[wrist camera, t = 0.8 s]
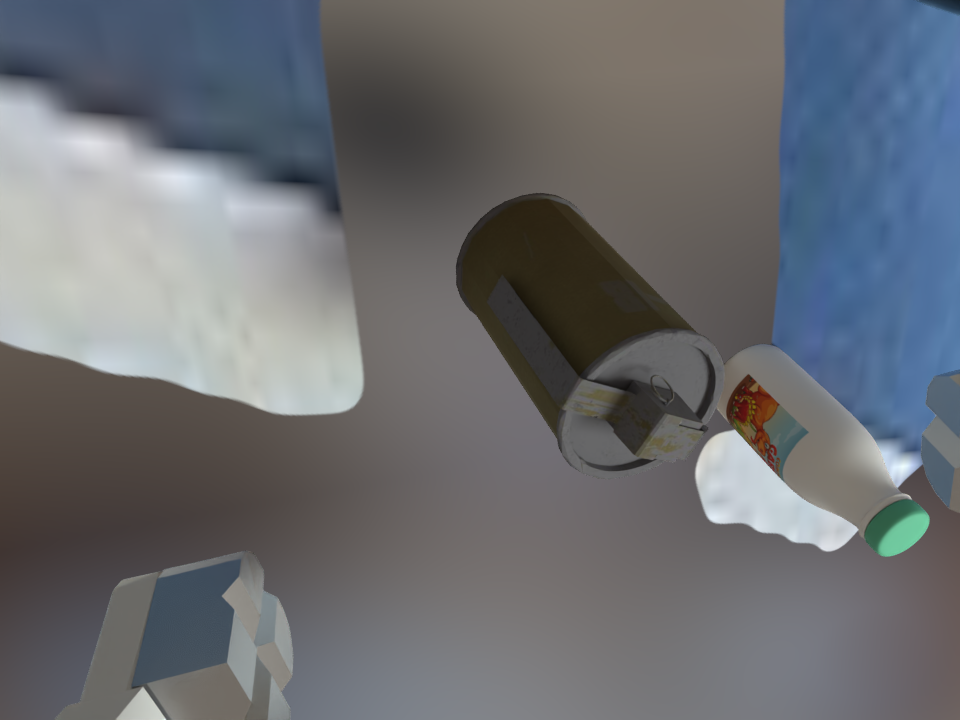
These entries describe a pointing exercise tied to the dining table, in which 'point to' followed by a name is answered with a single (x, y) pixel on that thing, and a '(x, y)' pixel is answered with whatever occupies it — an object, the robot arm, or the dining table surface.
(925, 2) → the wine bottle
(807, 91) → the dining table surface
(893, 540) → the milk bottle
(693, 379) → the canister
